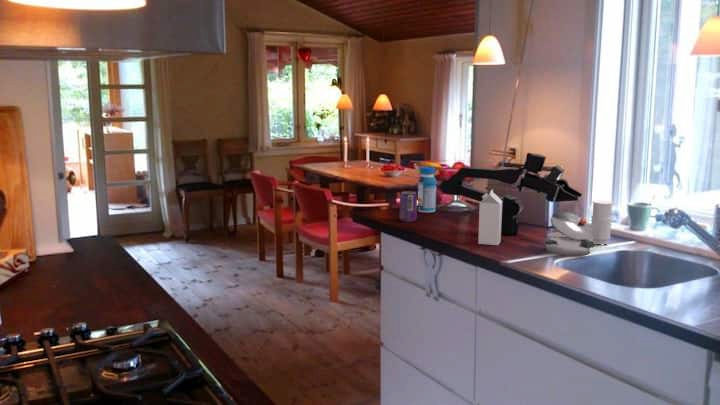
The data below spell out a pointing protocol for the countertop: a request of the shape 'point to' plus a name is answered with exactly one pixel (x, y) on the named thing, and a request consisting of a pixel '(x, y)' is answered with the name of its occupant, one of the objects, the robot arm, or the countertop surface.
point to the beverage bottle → (427, 190)
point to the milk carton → (490, 219)
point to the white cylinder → (601, 221)
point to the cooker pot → (567, 245)
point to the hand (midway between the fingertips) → (579, 197)
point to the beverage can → (408, 206)
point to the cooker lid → (572, 226)
